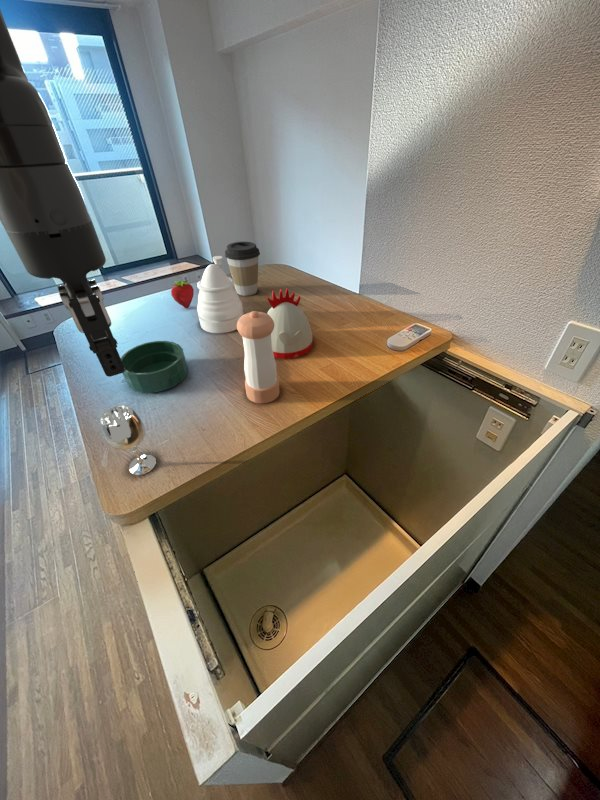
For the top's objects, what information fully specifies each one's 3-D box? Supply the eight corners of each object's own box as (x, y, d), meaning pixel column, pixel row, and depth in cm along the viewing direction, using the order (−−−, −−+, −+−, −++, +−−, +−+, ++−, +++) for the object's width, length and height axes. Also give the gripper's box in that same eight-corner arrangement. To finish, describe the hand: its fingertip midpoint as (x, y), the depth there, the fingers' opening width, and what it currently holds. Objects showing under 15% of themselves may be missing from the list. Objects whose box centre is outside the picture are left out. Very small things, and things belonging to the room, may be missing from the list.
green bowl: (118, 395, 71) (108, 375, 68) (139, 360, 82) (132, 341, 78) (180, 394, 72) (173, 374, 68) (194, 359, 82) (189, 340, 78)
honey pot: (228, 308, 103) (218, 248, 91) (253, 322, 96) (245, 259, 84) (192, 322, 96) (176, 259, 85) (216, 338, 89) (202, 272, 78)
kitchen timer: (256, 334, 91) (250, 281, 81) (304, 328, 93) (304, 275, 83) (265, 362, 80) (259, 305, 71) (318, 354, 83) (320, 297, 73)
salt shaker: (248, 406, 68) (235, 323, 56) (244, 385, 74) (232, 305, 61) (282, 400, 70) (277, 318, 57) (276, 380, 75) (270, 301, 62)
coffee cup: (268, 287, 115) (265, 242, 105) (253, 300, 107) (248, 253, 97) (240, 283, 118) (235, 239, 109) (224, 295, 111) (216, 248, 101)
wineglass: (117, 473, 56) (86, 424, 48) (139, 449, 60) (114, 400, 52) (146, 481, 54) (119, 432, 47) (166, 456, 59) (144, 406, 51)
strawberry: (171, 311, 102) (162, 279, 96) (187, 301, 107) (179, 271, 101) (186, 314, 100) (177, 282, 94) (201, 305, 105) (194, 273, 99)
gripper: (3, 213, 35) (71, 344, 46) (1, 240, 26) (85, 396, 37) (80, 206, 39) (127, 330, 49) (101, 228, 30) (153, 374, 40)
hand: (109, 358), depth 43 cm, fingers open, 8 cm apart
